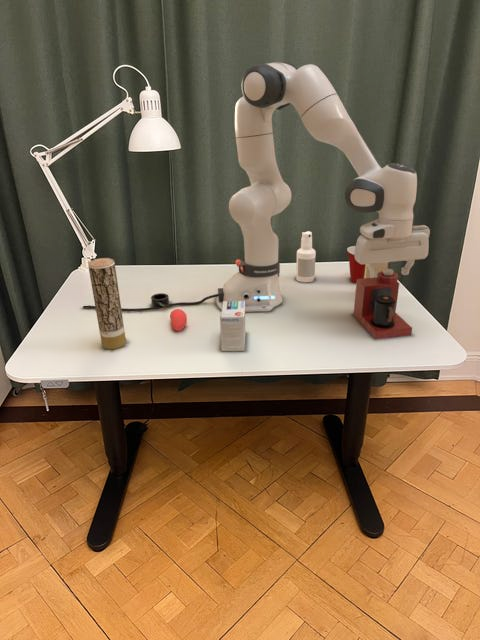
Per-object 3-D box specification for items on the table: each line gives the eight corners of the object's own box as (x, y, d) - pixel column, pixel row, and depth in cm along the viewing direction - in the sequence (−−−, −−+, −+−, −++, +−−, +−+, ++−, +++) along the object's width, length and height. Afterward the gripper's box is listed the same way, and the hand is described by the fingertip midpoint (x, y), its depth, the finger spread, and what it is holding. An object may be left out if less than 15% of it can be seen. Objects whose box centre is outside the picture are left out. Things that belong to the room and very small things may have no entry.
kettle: (380, 330, 138) (383, 304, 134) (367, 317, 145) (370, 292, 142) (398, 328, 138) (402, 302, 135) (385, 315, 146) (388, 290, 142)
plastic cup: (377, 286, 173) (381, 254, 168) (347, 286, 174) (350, 254, 168) (370, 275, 183) (374, 244, 178) (342, 275, 183) (344, 245, 178)
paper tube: (114, 352, 135) (100, 268, 124) (97, 346, 138) (82, 264, 127) (131, 342, 140) (119, 260, 129) (114, 336, 143) (101, 256, 132)
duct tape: (174, 298, 167) (174, 291, 166) (168, 311, 158) (168, 303, 157) (152, 298, 168) (151, 290, 166) (145, 310, 159) (144, 302, 157)
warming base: (375, 339, 139) (379, 304, 134) (360, 323, 148) (364, 290, 143) (411, 335, 140) (416, 300, 135) (394, 319, 149) (399, 286, 144)
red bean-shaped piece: (191, 323, 153) (184, 305, 152) (189, 326, 144) (180, 307, 143) (176, 330, 153) (168, 311, 152) (173, 333, 144) (164, 313, 144)
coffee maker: (360, 323, 148) (365, 280, 142) (353, 314, 153) (357, 273, 147) (395, 319, 149) (401, 277, 143) (387, 311, 155) (392, 270, 149)
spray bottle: (302, 284, 177) (304, 236, 169) (292, 278, 182) (293, 231, 174) (317, 280, 180) (320, 233, 171) (307, 274, 185) (309, 228, 177)
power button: (385, 278, 144) (385, 272, 143) (380, 274, 147) (381, 269, 146) (394, 277, 145) (395, 271, 144) (390, 273, 147) (390, 268, 146)
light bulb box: (223, 333, 144) (222, 300, 139) (246, 333, 143) (245, 300, 139) (221, 351, 134) (219, 316, 129) (245, 351, 134) (244, 316, 129)
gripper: (424, 221, 133) (418, 268, 139) (354, 227, 130) (350, 275, 137) (436, 227, 128) (429, 276, 134) (363, 233, 125) (359, 283, 131)
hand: (389, 275), depth 135 cm, fingers open, 8 cm apart
